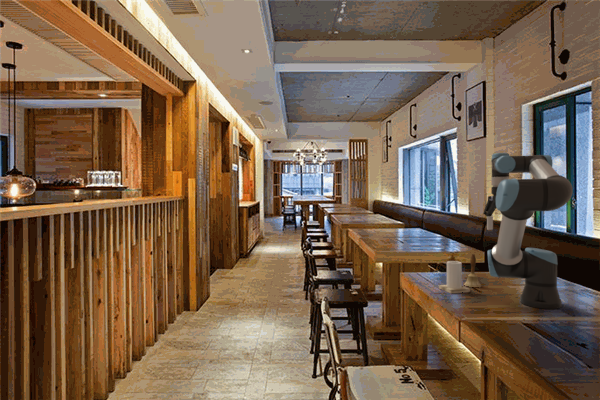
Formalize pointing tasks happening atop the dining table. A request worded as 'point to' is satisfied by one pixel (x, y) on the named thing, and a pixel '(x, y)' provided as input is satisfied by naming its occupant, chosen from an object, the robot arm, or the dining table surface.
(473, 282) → the hand bell
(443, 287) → the stand
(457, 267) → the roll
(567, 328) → the dining table surface
